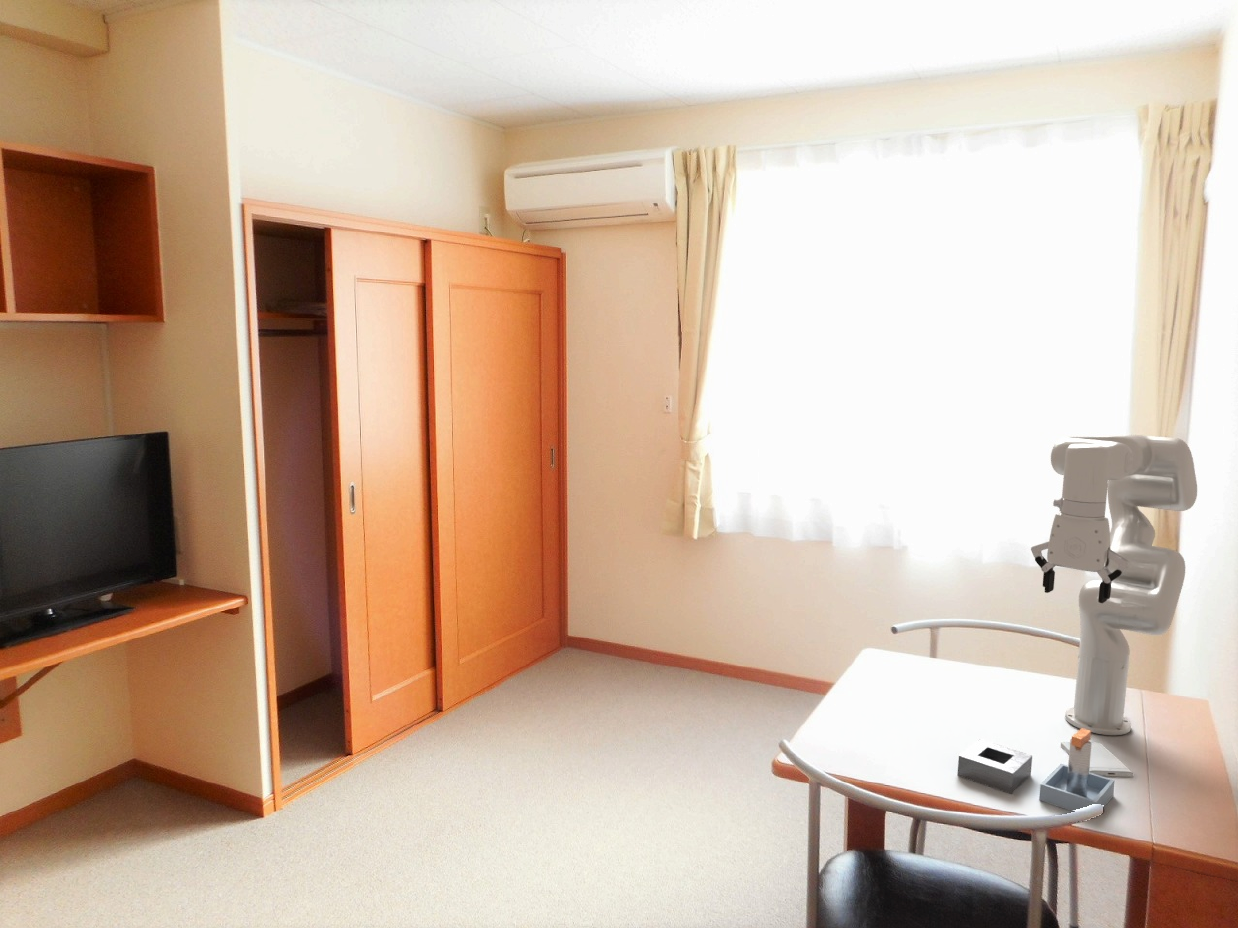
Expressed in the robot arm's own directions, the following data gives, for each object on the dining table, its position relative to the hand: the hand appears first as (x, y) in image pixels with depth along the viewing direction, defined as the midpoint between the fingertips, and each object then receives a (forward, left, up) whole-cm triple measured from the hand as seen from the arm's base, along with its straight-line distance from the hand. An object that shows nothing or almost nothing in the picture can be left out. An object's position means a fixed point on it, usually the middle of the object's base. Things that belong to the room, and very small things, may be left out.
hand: (1075, 596), depth 174 cm
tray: (+14, +7, -33) cm, 37 cm away
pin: (+14, +7, -33) cm, 36 cm away
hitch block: (+16, -7, -33) cm, 38 cm away
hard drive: (-5, +5, -34) cm, 35 cm away
